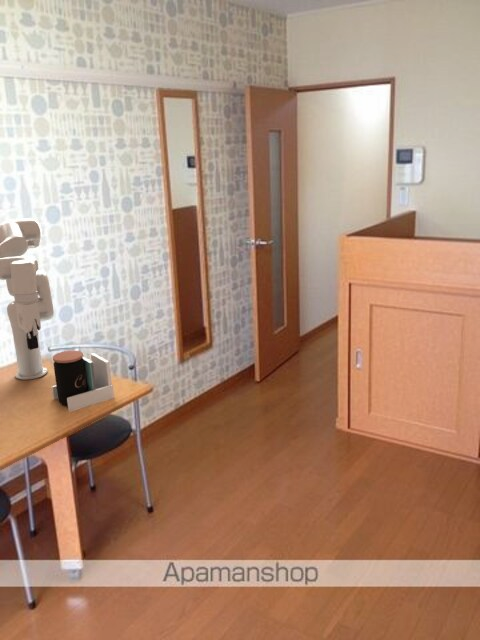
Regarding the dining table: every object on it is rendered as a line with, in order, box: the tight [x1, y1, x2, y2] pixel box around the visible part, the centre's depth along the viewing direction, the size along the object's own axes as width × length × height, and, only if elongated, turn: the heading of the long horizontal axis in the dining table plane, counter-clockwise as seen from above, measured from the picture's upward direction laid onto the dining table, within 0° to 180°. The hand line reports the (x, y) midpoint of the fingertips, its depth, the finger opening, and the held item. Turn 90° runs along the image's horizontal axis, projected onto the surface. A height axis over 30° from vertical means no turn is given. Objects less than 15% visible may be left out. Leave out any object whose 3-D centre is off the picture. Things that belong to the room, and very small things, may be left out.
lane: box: [51, 352, 115, 413], centre depth 220 cm, size 15×17×14 cm
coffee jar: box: [52, 350, 88, 408], centre depth 217 cm, size 11×11×18 cm
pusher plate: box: [82, 356, 96, 392], centre depth 221 cm, size 12×1×15 cm, turn 39°
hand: (33, 348), depth 207 cm, fingers closed
